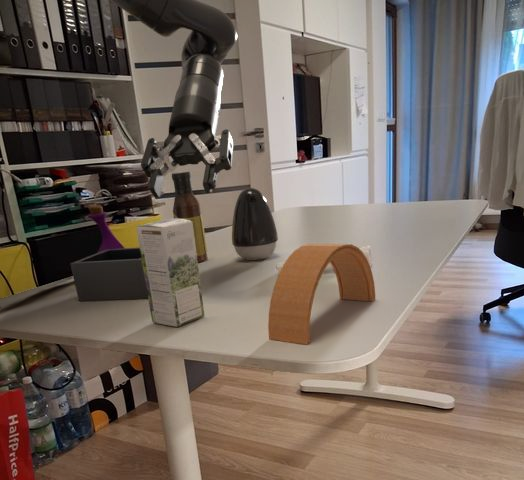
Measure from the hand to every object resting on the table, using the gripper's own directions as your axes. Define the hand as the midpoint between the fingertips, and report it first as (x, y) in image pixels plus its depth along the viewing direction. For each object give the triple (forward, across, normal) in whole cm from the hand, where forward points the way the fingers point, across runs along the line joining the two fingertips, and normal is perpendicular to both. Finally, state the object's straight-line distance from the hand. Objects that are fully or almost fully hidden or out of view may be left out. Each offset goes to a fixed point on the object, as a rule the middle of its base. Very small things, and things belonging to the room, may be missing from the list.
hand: (180, 191), depth 79 cm
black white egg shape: (-13, +1, +38) cm, 40 cm away
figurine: (-1, +18, +27) cm, 32 cm away
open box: (+5, -18, +20) cm, 28 cm away
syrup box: (+18, 0, +7) cm, 20 cm away
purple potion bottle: (-7, -30, +32) cm, 45 cm away
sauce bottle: (-13, -14, +38) cm, 43 cm away
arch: (+19, +22, +7) cm, 30 cm away
